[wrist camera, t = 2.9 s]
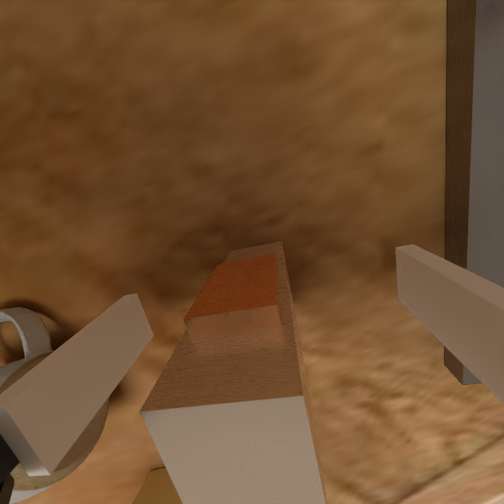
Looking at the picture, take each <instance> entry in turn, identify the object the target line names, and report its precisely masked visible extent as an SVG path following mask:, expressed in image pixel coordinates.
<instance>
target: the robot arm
mask: <svg viewBox="0 0 504 504" xmlns="http://www.w3.org/2000/svg"><path fill="white" fill-rule="evenodd" d="M395 249H396V267H397V285H398V300H399V301H400V302H401V303H402V304H403V305H404V306H405V307H406V308H407V309H408V310H409V311H410V312H411V313H412V314H413V315H414V316H415V317H416V318H417V319H418V320H419V321H420V322H421V323H422V324H423V325H424V326H425V327H426V328H427V329H428V330H429V331H430V332H431V333H432V334H433V335H434V336H435V337H436V338H437V339H438V340H439V341H440V342H441V343H442V344H443V345H444V346H445V347H446V348H447V349H448V350H449V351H450V352H451V353H452V354H453V355H454V356H455V357H456V358H457V359H458V360H459V361H460V362H461V363H462V364H463V365H464V366H465V367H466V368H467V369H468V370H469V371H470V372H471V373H472V374H474V375H475V376H476V377H477V378H478V379H479V380H480V381H481V382H482V383H483V384H484V385H485V386H486V387H487V388H488V389H489V390H490V391H491V392H492V393H493V394H494V395H495V396H496V397H497V398H498V399H499V400H500V401H501V402H502V403H503V404H504V288H503V287H501V286H499V285H497V284H495V283H493V282H491V281H489V280H487V279H485V278H482V277H480V276H478V275H476V274H474V273H472V272H470V271H468V270H466V269H464V268H462V267H460V266H458V265H455V264H453V263H451V262H449V261H447V260H445V259H443V258H441V257H439V256H437V255H435V254H433V253H431V252H428V251H426V250H424V249H422V248H420V247H418V246H416V245H414V244H412V245H406V246H400V247H395ZM153 337H154V335H153V332H152V330H151V327H150V325H149V322H148V320H147V317H146V315H145V312H144V310H143V307H142V305H141V302H140V300H139V297H138V295H137V293H135V294H130V295H124V296H123V297H122V298H120V299H119V300H118V301H117V302H115V303H114V304H113V305H112V306H110V307H109V308H108V309H107V310H105V311H104V312H103V313H102V314H100V315H99V316H98V317H97V318H95V319H94V320H93V321H92V322H90V323H89V324H88V325H87V326H85V327H84V328H83V329H81V330H80V331H79V332H78V333H76V334H75V335H74V336H73V337H71V338H70V339H69V340H68V341H66V342H65V343H64V344H63V345H61V346H60V347H59V348H58V349H56V350H55V351H54V352H53V353H51V354H50V355H49V356H48V357H46V358H45V359H44V360H43V361H41V362H40V363H39V364H38V365H36V366H35V367H34V368H33V369H31V370H30V371H29V372H28V373H26V374H25V375H24V376H23V377H21V378H20V379H19V380H18V381H16V382H15V383H14V384H13V385H11V386H10V387H9V388H8V389H6V390H5V391H4V392H3V393H1V394H0V504H9V502H10V499H11V495H12V492H13V488H14V478H13V477H12V475H11V474H10V473H11V472H12V471H13V469H14V468H15V467H16V466H17V465H18V464H19V463H20V464H21V466H22V467H23V468H24V470H25V471H26V473H27V474H28V475H29V476H44V475H51V473H52V472H53V471H54V469H55V468H56V467H57V465H58V464H59V463H60V461H61V460H62V459H63V457H64V456H65V455H66V453H67V452H68V451H69V449H70V448H71V447H72V445H73V444H74V443H75V441H76V440H77V439H78V437H79V436H80V435H81V433H82V432H83V431H84V429H85V428H86V427H87V425H88V424H89V423H90V421H91V420H92V419H93V417H94V416H95V414H96V413H97V412H98V410H99V409H100V408H101V406H102V405H103V404H104V402H105V401H106V400H107V398H108V397H109V396H110V394H111V393H112V392H113V390H114V389H115V388H116V386H117V385H118V384H119V382H120V381H121V380H122V378H123V377H124V376H125V374H126V373H127V372H128V370H129V369H130V368H131V366H132V365H133V364H134V362H135V361H136V360H137V358H138V357H139V356H140V354H141V353H142V352H143V350H144V349H145V347H146V346H147V345H148V343H149V342H150V341H151V339H152V338H153Z"/></svg>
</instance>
